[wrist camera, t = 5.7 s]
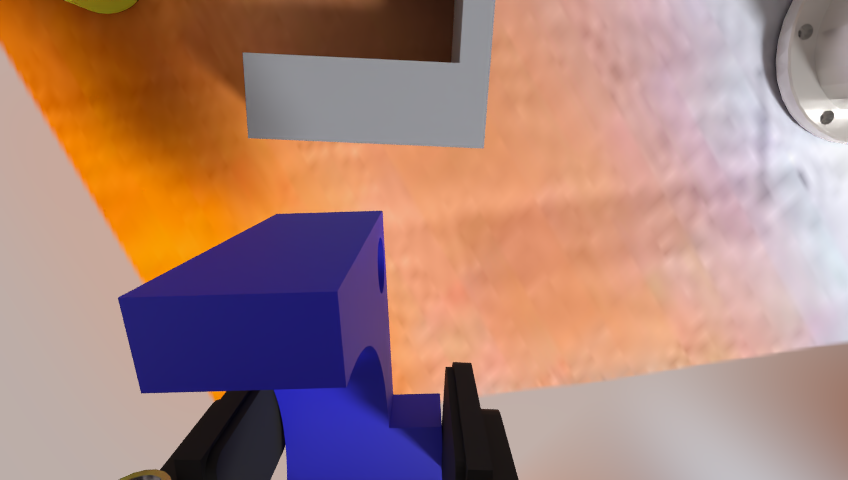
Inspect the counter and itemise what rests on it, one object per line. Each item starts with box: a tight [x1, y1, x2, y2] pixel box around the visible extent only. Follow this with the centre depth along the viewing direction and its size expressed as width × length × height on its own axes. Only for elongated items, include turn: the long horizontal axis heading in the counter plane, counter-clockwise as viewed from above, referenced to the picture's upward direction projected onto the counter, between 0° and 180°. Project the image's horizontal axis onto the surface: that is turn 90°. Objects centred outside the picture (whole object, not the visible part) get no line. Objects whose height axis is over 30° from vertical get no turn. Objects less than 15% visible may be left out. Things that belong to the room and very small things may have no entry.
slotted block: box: [243, 0, 495, 148], centre depth 21 cm, size 12×13×6 cm
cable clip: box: [118, 211, 442, 480], centre depth 10 cm, size 12×4×6 cm, turn 2°
